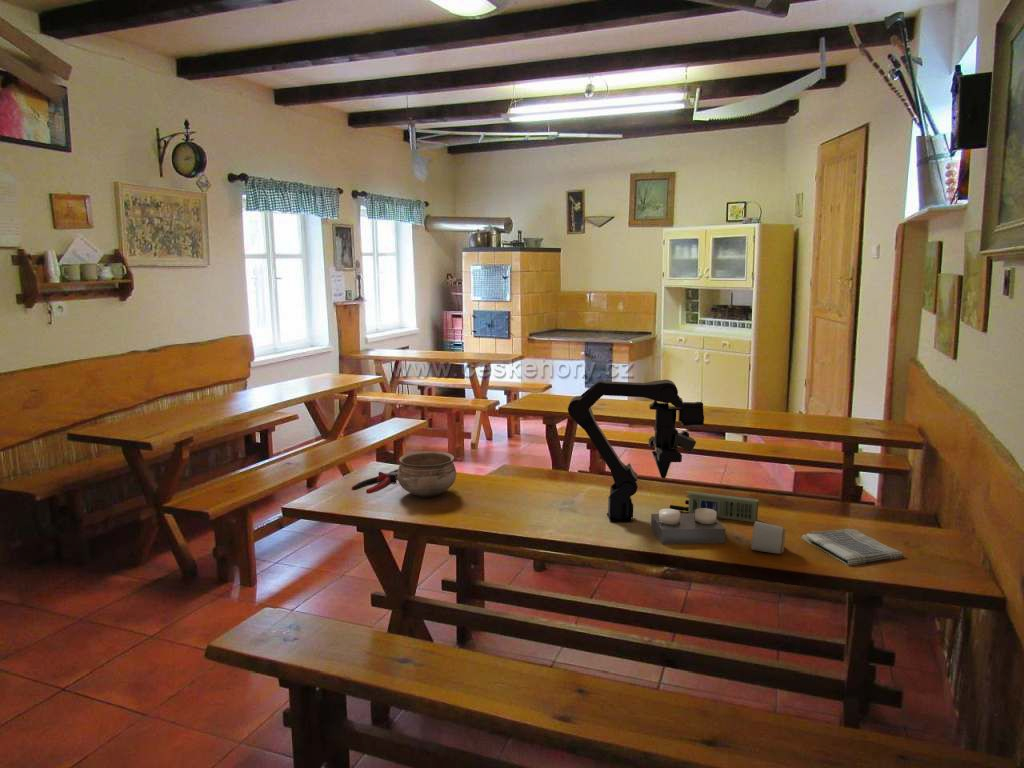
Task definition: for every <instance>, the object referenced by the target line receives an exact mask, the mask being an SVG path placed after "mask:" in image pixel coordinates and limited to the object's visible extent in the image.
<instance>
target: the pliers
mask: <svg viewBox="0 0 1024 768" xmlns="http://www.w3.org/2000/svg"><path fill="white" fill-rule="evenodd" d="M397 472H398V468H396V469H395V470H392V471H390V472H382V471H379V472H378V476H375V477H371V478H368V479H365V480H362V481H360V482H358V483H356V484H354V485H352V486H351V490H354V491H355V490H358V489H360V488H362V487H365V486H367V485H370V484H373V483H377V482H379V483H377V484H376V485H374V486H371V487H369V488H367V489H366V490H365V491H366V493H368V494H370V493H373V492H376V491H379V490H382V488H384V487H385V486H386V485H387V484H388V483H397Z"/></svg>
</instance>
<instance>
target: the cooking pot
mask: <svg viewBox="0 0 1024 768" xmlns="http://www.w3.org/2000/svg"><path fill="white" fill-rule="evenodd" d="M454 459H455V456H454V455H453V454H451V453H448V452H445V451H444V452H443V451H437V450H435V451H434V450H426V451H425V450H424V451H416V452H415V451H414V452H410V453H406V454H403V455H402V456H400V457H399V459H398V461H399V462H400V464H399V467H398V468H397V469H398V472H397V477H396V480H397V482H398V484H399V485H400V487H401V488H402V489H403V490H404V491H406V492H408V493H410V494H413V495H414V496H416V497H418V498H422V499H431V498H435V497H437V496H439V495H440V494H442V493H443V492H445V491H447V490H449V489H450V488H451V487H452V486H453V484H454V483H455V482H456V478H457V470H456V466H455V464H454V461H453V460H454Z"/></svg>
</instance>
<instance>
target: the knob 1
mask: <svg viewBox="0 0 1024 768" xmlns="http://www.w3.org/2000/svg"><path fill="white" fill-rule="evenodd" d="M680 513H681V511H680V510H675V509H670V508H662V509H659V510H658V514H659V521H660V522H661V523H662V525H678V523H679V522H680Z"/></svg>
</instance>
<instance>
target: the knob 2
mask: <svg viewBox="0 0 1024 768" xmlns="http://www.w3.org/2000/svg"><path fill="white" fill-rule="evenodd" d="M716 514H717V512H716V511H715V510H712V509H708V508H699V509H696V510H695V521H697V522H698V523H699V524H715V523H716V519H717V518H716Z"/></svg>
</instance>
